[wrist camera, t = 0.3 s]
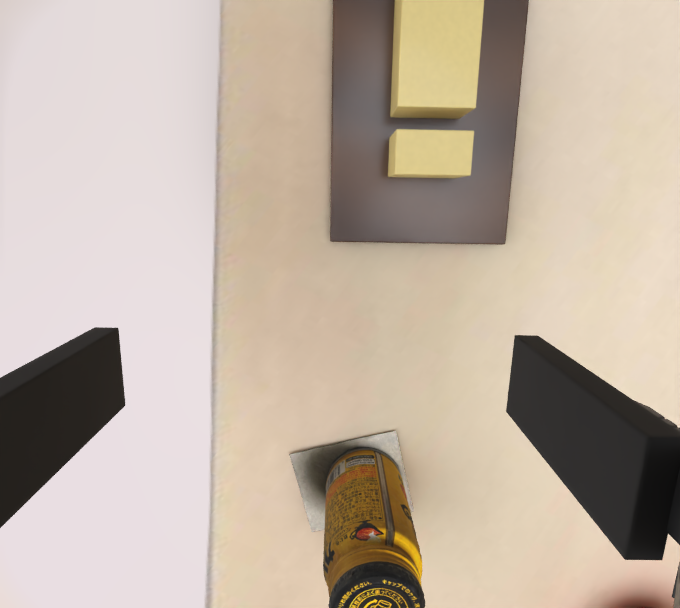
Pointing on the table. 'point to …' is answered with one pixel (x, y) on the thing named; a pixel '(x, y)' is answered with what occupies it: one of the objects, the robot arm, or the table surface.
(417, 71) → the butter block
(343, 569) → the condiment
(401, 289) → the table surface
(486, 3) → the butter board
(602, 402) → the robot arm
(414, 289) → the table surface
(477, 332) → the table surface
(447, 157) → the butter slice
